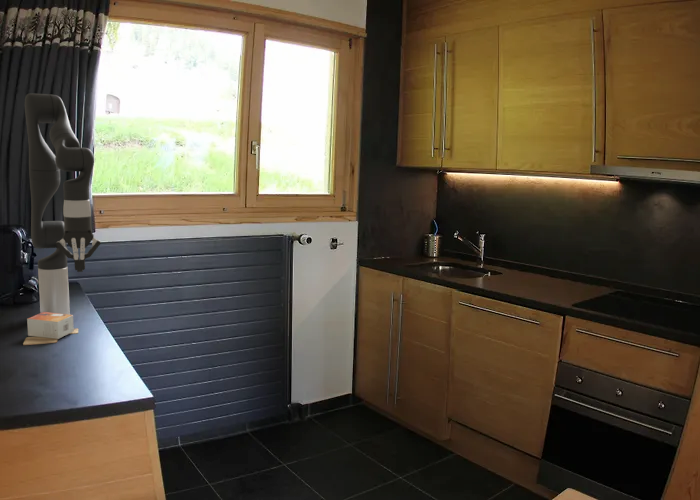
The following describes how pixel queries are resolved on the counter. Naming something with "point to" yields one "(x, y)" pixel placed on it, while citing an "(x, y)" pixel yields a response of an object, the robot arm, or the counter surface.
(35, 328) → the small box
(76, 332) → the turner
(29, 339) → the plate
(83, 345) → the counter surface
